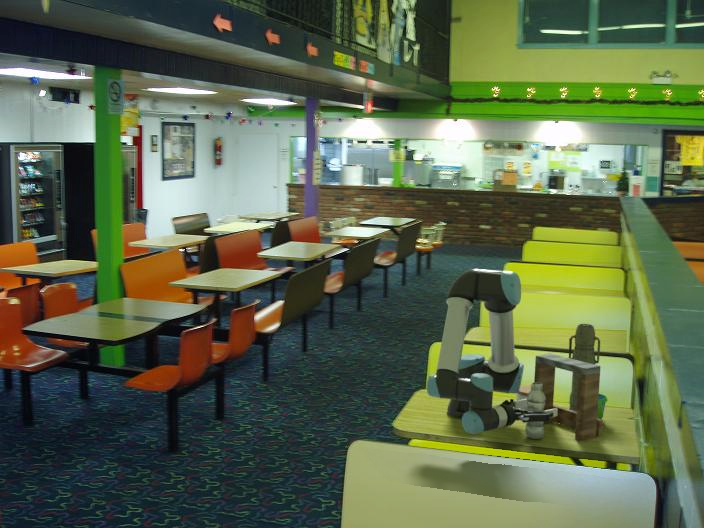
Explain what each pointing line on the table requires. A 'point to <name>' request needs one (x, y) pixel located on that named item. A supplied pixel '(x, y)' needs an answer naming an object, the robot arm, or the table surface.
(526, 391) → the lidded bowl
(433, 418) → the table surface
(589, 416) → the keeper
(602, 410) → the snack cup
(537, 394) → the plastic bottle
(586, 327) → the thermos
